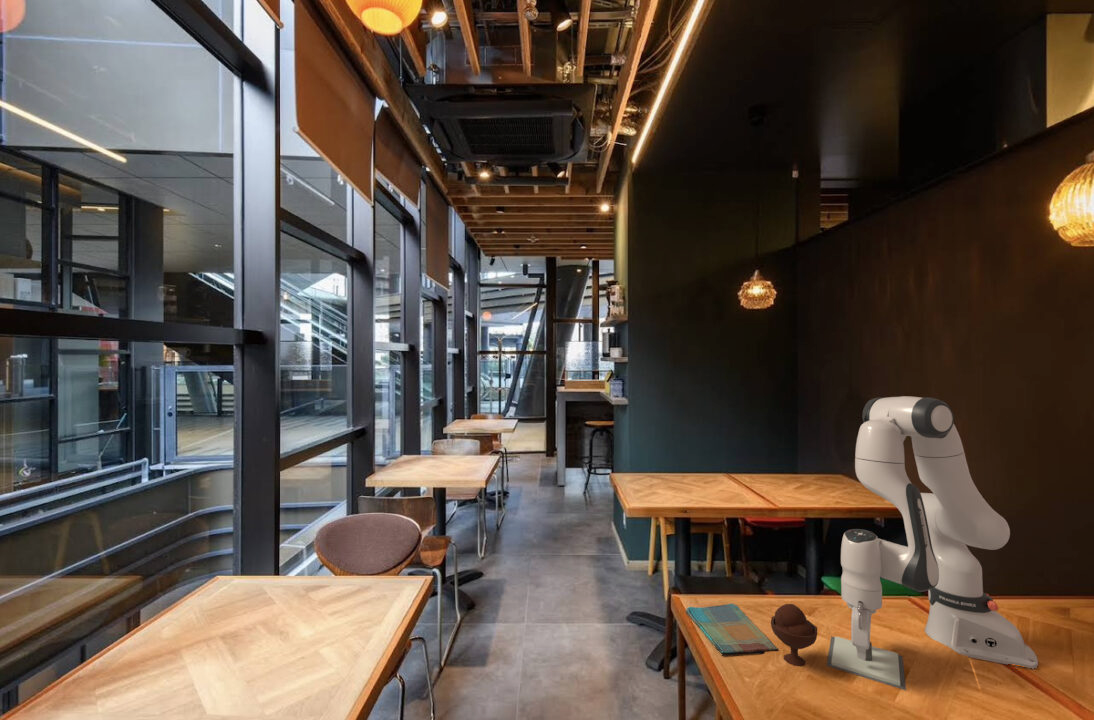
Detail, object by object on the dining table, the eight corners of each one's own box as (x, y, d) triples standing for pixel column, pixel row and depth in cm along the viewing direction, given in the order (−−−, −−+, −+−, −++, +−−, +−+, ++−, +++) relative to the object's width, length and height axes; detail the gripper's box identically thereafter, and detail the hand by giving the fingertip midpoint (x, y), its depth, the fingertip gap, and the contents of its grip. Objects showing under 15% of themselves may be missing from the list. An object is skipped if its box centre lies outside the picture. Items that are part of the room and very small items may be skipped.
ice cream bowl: (826, 677, 114) (824, 616, 114) (777, 672, 116) (776, 611, 116) (810, 652, 124) (809, 595, 124) (766, 647, 126) (764, 592, 127)
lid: (897, 656, 121) (897, 637, 121) (900, 686, 110) (899, 665, 110) (835, 639, 129) (834, 621, 129) (831, 665, 118) (830, 645, 118)
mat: (902, 657, 121) (902, 655, 121) (905, 692, 108) (905, 690, 108) (831, 637, 131) (831, 636, 131) (826, 667, 117) (826, 665, 118)
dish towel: (736, 610, 147) (736, 602, 147) (781, 654, 124) (781, 645, 124) (684, 613, 146) (684, 605, 146) (720, 659, 122) (720, 649, 122)
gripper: (875, 615, 110) (876, 674, 110) (876, 584, 126) (877, 635, 126) (844, 607, 114) (845, 664, 113) (849, 578, 130) (850, 627, 130)
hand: (862, 648), depth 120 cm, fingers open, 8 cm apart
